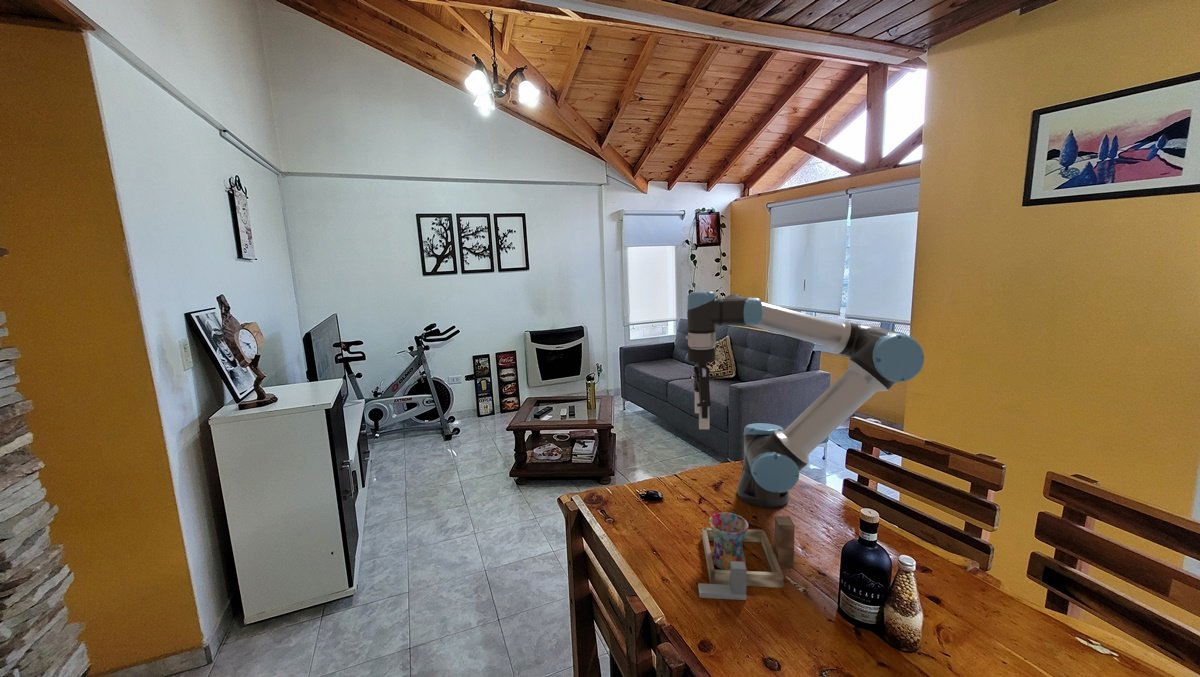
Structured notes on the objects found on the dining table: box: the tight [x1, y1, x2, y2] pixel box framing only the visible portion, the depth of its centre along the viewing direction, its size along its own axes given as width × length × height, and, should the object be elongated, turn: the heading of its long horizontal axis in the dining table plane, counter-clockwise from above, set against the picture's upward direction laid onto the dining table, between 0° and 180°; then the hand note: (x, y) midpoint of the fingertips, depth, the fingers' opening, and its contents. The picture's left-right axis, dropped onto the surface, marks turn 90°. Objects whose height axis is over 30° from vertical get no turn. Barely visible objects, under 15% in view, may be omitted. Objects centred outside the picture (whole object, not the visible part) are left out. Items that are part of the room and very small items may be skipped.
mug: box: [708, 512, 749, 570], centre depth 111 cm, size 12×9×11 cm
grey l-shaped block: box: [697, 561, 748, 601], centre depth 99 cm, size 10×3×7 cm, turn 83°
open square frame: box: [701, 515, 796, 588], centre depth 110 cm, size 20×18×11 cm
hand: (701, 420), depth 128 cm, fingers open, 13 cm apart
